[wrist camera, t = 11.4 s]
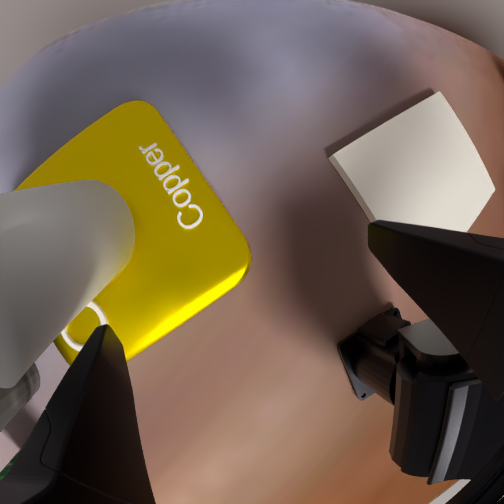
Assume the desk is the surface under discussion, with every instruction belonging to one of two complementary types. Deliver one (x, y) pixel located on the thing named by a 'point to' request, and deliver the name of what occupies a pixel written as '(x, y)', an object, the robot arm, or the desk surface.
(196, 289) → the element tile
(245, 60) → the desk surface
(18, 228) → the grey cylinder
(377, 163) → the notebook
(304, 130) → the desk surface
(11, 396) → the beverage cup
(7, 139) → the desk surface
